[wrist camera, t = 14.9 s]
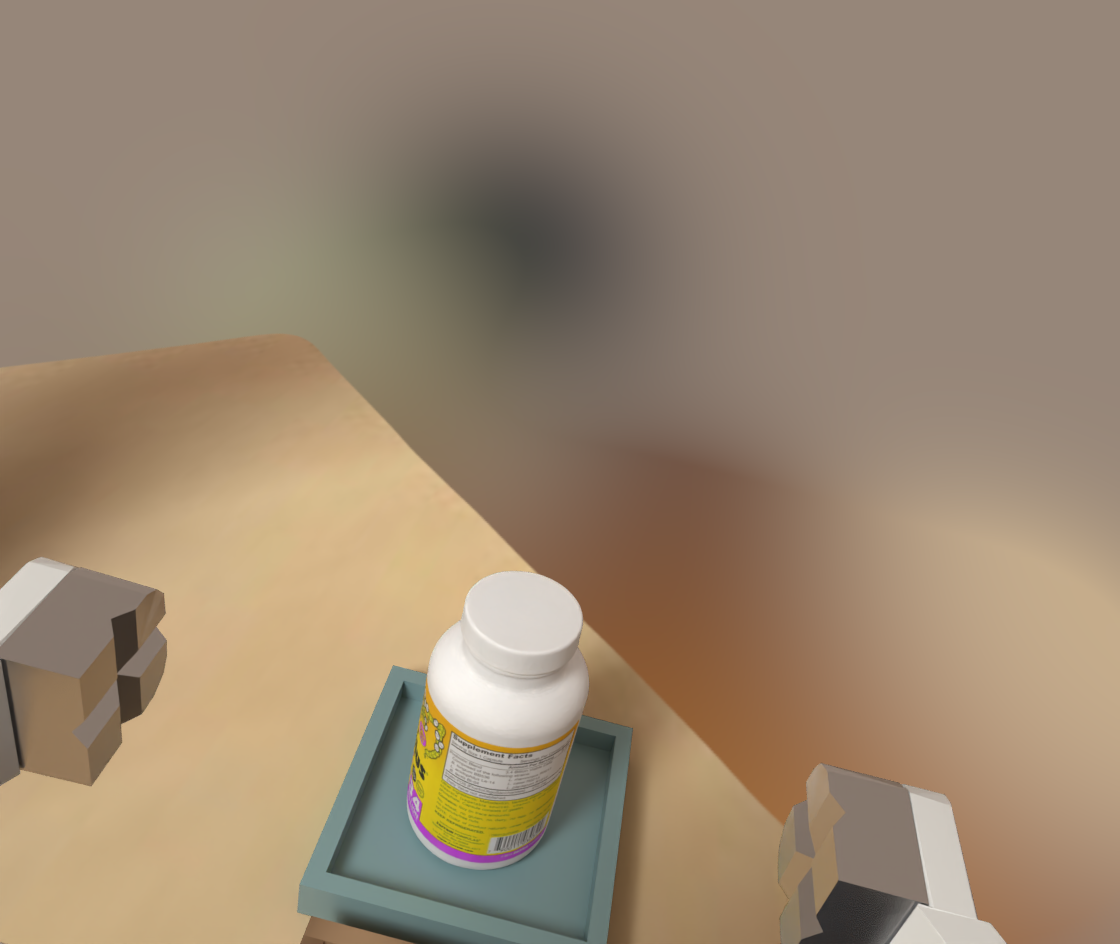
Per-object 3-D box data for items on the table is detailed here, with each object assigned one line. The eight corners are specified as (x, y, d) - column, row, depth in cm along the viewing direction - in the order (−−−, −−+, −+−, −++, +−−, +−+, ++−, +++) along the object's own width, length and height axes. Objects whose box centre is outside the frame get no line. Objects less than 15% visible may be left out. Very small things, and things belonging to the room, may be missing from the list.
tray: (297, 912, 40) (299, 884, 39) (389, 692, 50) (393, 665, 49) (592, 991, 40) (603, 966, 39) (623, 753, 50) (632, 728, 49)
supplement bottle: (433, 736, 48) (471, 534, 41) (561, 778, 47) (623, 582, 40) (380, 848, 42) (414, 638, 35) (525, 899, 42) (589, 695, 34)
